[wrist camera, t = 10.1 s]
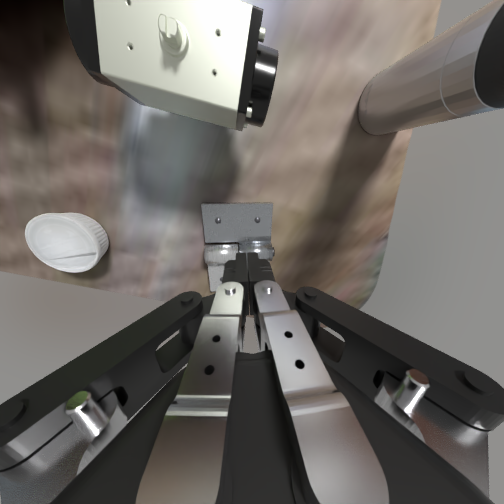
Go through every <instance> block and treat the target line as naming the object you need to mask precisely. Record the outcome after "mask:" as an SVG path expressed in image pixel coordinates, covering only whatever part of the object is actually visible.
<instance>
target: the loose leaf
mask: <svg viewBox="0 0 504 504" xmlns="http://www.w3.org/2000/svg"><path fill="white" fill-rule="evenodd" d="M236 253H238V244H222V245H205V248H204V258H205V263H206V264H208V272H209V281H210V290H211V291H217V288H218V287H219V286H220V285H221V284H222V278H223V273H224V266H225V263H226V262H227V261H228V260H236ZM269 262H270V261H269Z"/></svg>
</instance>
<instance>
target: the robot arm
mask: <svg viewBox="0 0 504 504" xmlns="http://www.w3.org/2000/svg"><path fill="white" fill-rule="evenodd" d="M503 108H504V0H493V1H491V2H490V3H489V4H487V5H485V6H484V7H482V8H481V9H479V10H478V11H476V12H475V13H473V14H471V15H470V16H468V17H467V18H465V19H464V20H462V21H460V22H459V23H457V24H456V25H454V26H452V27H451V28H449V29H448V30H446V31H445V32H443V33H441V34H440V35H439V36H437V37H435V38H434V39H432V40H430V41H429V42H427V43H426V44H424V45H423V46H421V47H419V48H418V49H416V50H415V51H413V52H412V53H410V54H408V55H407V56H405V57H404V58H402V59H401V60H399V61H397V62H396V63H394V64H393V65H391V66H389V67H388V68H386V69H385V70H383V71H382V72H380V73H379V74H377V75H376V76H375V77H373V78H372V80H371V81H370V82H369V83H368V84H367V86H366V88H365V89H364V91H363V93H362V96H361V99H360V102H359V109H358V114H359V120H360V123H361V126H362V127H363V129H364V130H365V131H366V132H368V133H369V134H372V135H382V134H386V133H391V132H396V131H401V130H406V129H410V128H415V127H420V126H424V125H428V124H434V123H438V122H443V121H447V120H452V119H457V118H461V117H466V116H470V115H475V114H479V113H484V112H489V111H493V110H498V109H503ZM248 290H249V293H248ZM249 305H250V315H254V328H255V333H256V338H257V344H258V350H259V353H256V354H249V353H244V352H243V349H244V334H245V322H246V315H249ZM320 323H323V324H324V325H326V326H328V327H329V328H331V329H332V330H334V331H335V332H337V333H339V334H340V335H341V336H342V337H343V338H344V340H345V342H343V341H341V340H340V339H338V338H337V337H335V336H334V335H332V334H331V333H329V332H328V331H326V330H325V329H323V328H322V327H320ZM178 330H179V333H178V334H177V335H176V336H175V337H173V338H172V339H171V340H169V341H168V342H167V343H166V344H164V345H163V346H162V347H161V348H159V349H158V350H157V351H156V349H157V348H158V346H159V345H160V344H161V343H162V342H163V341H165V340H166V339H167V338H169V337H170V336H171V335H172V334H174V333H175V332H176V331H178ZM187 363H188V364H187ZM185 364H187V366H186V367H185V368H184V369H182V370H181V371H180V372H179V373H177V372H178V371H179V370H180V369H181V368H182V367H183V366H185ZM176 373H177V374H176ZM175 374H176V375H175ZM174 375H175V376H174ZM173 376H174V377H173ZM172 377H173V378H172ZM171 378H172V379H171ZM170 379H171V380H170ZM169 380H170V381H169ZM168 381H169V382H168ZM167 382H168V383H167ZM166 383H167V384H166ZM165 384H166V385H165ZM164 385H165V386H164ZM163 386H164V387H163ZM162 387H163V388H162ZM161 388H162V389H161ZM160 389H161V390H160ZM159 390H160V391H159ZM158 391H159V392H158ZM157 392H158V393H157ZM156 393H157V394H156ZM154 394H156V395H155V396H154ZM153 396H154V397H153ZM152 397H153V398H152ZM151 398H152V399H151ZM150 399H151V400H150ZM149 400H150V401H149ZM147 401H149V402H148V403H147V404H146V405H145V406H144V407H143V409H141V410H140V411H139V413H138V414H137V415H136V416H135V417H134V418H133V419H132V420H131V421H130V422H129V423H128V424H127V421H128V420H129V419H130V418H131V417H132V416H133V415H134V414H135V413H136V412H137V411H138V410H139V409H140V408H141V407H142V406H143V405H144V404H145V403H146V402H147ZM503 421H504V389H503V388H502V387H501V386H500V385H499V384H498V383H497V382H495V381H494V380H493V379H492V378H490V377H489V376H487V375H486V374H484V373H482V372H480V371H479V370H477V369H475V368H473V367H471V366H469V365H467V364H465V363H463V362H461V361H459V360H457V359H455V358H453V357H451V356H449V355H447V354H445V353H443V352H441V351H439V350H437V349H435V348H433V347H431V346H429V345H427V344H425V343H423V342H421V341H419V340H417V339H415V338H413V337H411V336H409V335H407V334H405V333H403V332H401V331H399V330H398V329H395V328H394V327H392V326H390V325H388V324H385V323H383V322H382V321H380V320H378V319H376V318H374V317H372V316H370V315H368V314H366V313H364V312H362V311H360V310H358V309H356V308H354V307H352V306H350V305H348V304H346V303H344V302H342V301H340V300H338V299H336V298H334V297H332V296H330V295H328V294H326V293H324V292H322V291H320V290H318V289H316V288H313V287H302V288H300V289H298V290H297V292H296V293H290V292H286V291H283V290H281V288H280V286H279V285H278V284H277V283H276V282H275V279H274V276H273V272H272V269H271V266H270V262H269V261H267V260H266V259H259V257H258V252H247V256H246V253H236V260H228V261H227V262H226V263H225V266H224V273H223V278H222V284H221V285H220V286H219V287H218V288H217V291H216V293H215V294H213V295H210V296H207V297H203V298H202V296H201V295H200V294H199V293H198V292H193V291H189V292H184V293H182V294H179V295H178V296H176V297H174V298H173V299H171V300H170V301H168V302H166V303H165V304H163V305H162V306H160V307H158V308H157V309H155V310H153V311H152V312H150V313H148V314H147V315H145V316H144V317H142V318H140V319H139V320H137V321H135V322H134V323H132V324H131V325H129V326H128V327H126V328H124V329H123V330H121V331H119V332H118V333H116V334H114V335H113V336H111V337H109V338H108V339H107V340H105V341H103V342H101V343H100V344H98V345H97V346H95V347H93V348H92V349H90V350H89V351H87V352H85V353H83V354H82V355H80V356H79V357H77V358H75V359H74V360H72V361H70V362H69V363H67V364H66V365H64V366H62V367H61V368H59V369H57V370H56V371H54V372H53V373H51V374H49V375H48V376H46V377H44V378H43V379H41V380H39V381H38V382H36V383H35V384H33V385H31V386H30V387H28V388H26V389H25V390H23V391H22V392H20V393H19V394H17V395H15V396H14V397H12V398H10V399H9V400H7V401H5V402H4V403H2V404H1V405H0V495H1V504H494V503H493V502H492V501H491V500H490V499H489V469H488V467H489V466H488V434H489V433H490V432H491V431H493V430H494V429H495V428H496V427H497V426H499V425H500V424H501V423H502V422H503ZM126 424H127V425H126Z"/></svg>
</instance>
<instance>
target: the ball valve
mask: <svg viewBox="0 0 504 504" xmlns="http://www.w3.org/2000/svg"><path fill="white" fill-rule="evenodd" d="M63 3H64V13H65V19H66V24H67V28H68V31H69V35H70V38H71V40H72V43H73V46H74V48H75V51H76V53H77V55H78V57H79V59H80V61H81V63H82V64H83V66H84V67H85V69H86V70H87V72H88V73H89V74H90V75H91V76H92V77H93V79H95V80H96V81H97V82H99V83H101V84H104V85H108V86H111V87H115V88H116V89H118V90H119V91H121V92H122V93H124V94H125V95H127V96H128V97H130V98H131V99H133V100H134V101H136V102H137V103H139V104H140V105H144V106H148V107H152V108H155V109H159V110H163V111H167V112H171V113H174V114H178V115H182V116H186V117H190V118H193V119H197V120H201V121H205V122H208V123H212V124H216V125H220V126H224V127H227V128H231V129H235V130H239V131H242V130H243V128H247V125H248V124H251V125H254V126H258V127H262V126H263V123H264V121H265V118H266V115H267V111H268V107H269V103H270V99H271V95H272V91H273V86H274V81H275V76H276V70H277V64H278V51H277V50H275V49H272V48H269V47H267V46H264V45H261V44H258V41H260V42H264V37H265V31H266V29H265V28H263V27H261V21H262V15H263V9H261V8H258V7H256V6H252V5H251V4H248V3H245V2H243V1H240V0H63ZM251 12H252V13H251Z"/></svg>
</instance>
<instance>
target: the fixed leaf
mask: <svg viewBox="0 0 504 504" xmlns="http://www.w3.org/2000/svg"><path fill="white" fill-rule="evenodd" d="M201 208H202V217H203V226H204V235H205V243H215V242H239V253H246V256H247V252H258V257H259V259H266V260H267V261H272V257H273V256H274V247H272V244H271V226H272V208H273V203H202V204H201Z"/></svg>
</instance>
